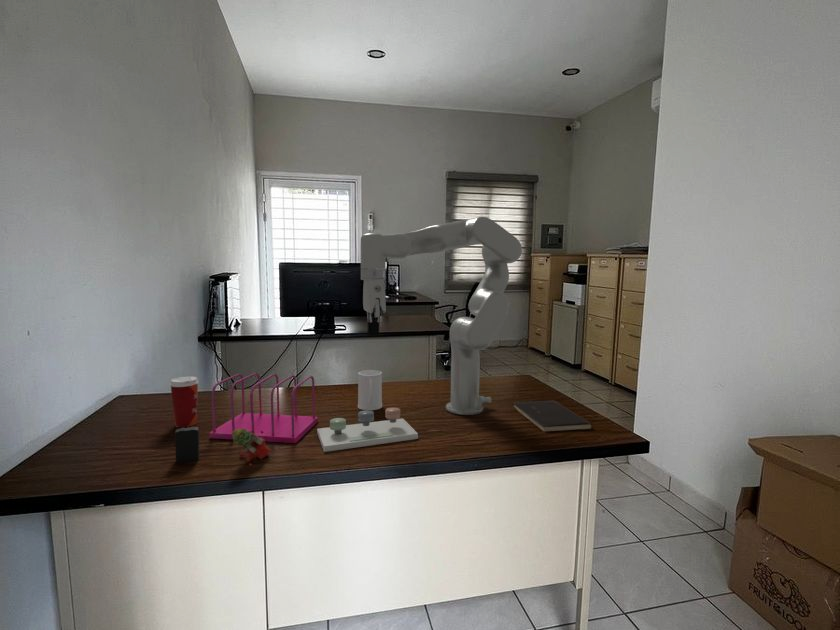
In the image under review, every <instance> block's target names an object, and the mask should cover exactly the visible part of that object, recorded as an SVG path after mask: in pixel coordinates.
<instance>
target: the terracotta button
mask: <svg viewBox="0 0 840 630" xmlns="http://www.w3.org/2000/svg"><path fill="white" fill-rule="evenodd" d="M384 410H385V416H384V417H385V418H386V419H387V420H389V422H391V423H395V422H396V419H401V411H402V410H401V409H400V408H398V407H387V408H386V409H384Z"/></svg>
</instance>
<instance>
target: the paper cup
mask: <svg viewBox="0 0 840 630" xmlns="http://www.w3.org/2000/svg"><path fill="white" fill-rule="evenodd" d="M198 384H199V380H198V377H197V376H189V375H188V376H179V377H175V378H172V379H171V380H170V383H169V387H170V391H171V398H172V408H173V416H174V423H175V424H174V425H175V427H176V426H177V427H176V428H178V427H187V428H188V427H189V426H191V427H194V426H196V425H195V424H198V423H197V422H198V390H199V389H198V388H199V387H198ZM193 425H194V426H193Z"/></svg>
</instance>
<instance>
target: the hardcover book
mask: <svg viewBox="0 0 840 630" xmlns="http://www.w3.org/2000/svg"><path fill="white" fill-rule="evenodd" d="M512 404H513V408H514V407H515V408H516V410H517V411H518V412H519V413H520V414H521V415H523V416H524V417H525V418H527V420H529V421H530V422H531V423H533V424H534V425H535V426H537V427H538V428H539V429H540V430H542V432H557V431H572V430H586V429H587V430H593V424H592V423H591V422H589V421H588V420H586V419H585V418H583V417H581V416H580V415H578V414H576V413H575V412H573V411H572V410H570V409H568V408H567V407H566V406H564V405H562V404H561V403H559V402H558V401H556V400H535V401H534V400H533V401H516V402H515V401H513V402H512ZM515 408H514V409H515Z"/></svg>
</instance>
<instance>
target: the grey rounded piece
mask: <svg viewBox="0 0 840 630" xmlns="http://www.w3.org/2000/svg"><path fill="white" fill-rule="evenodd" d="M357 417H358V419H357V420H358V422H360V423H363V426H369V425H370V422H374V420H375V412H374V410H361V411H359V412H358V414H357Z"/></svg>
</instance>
